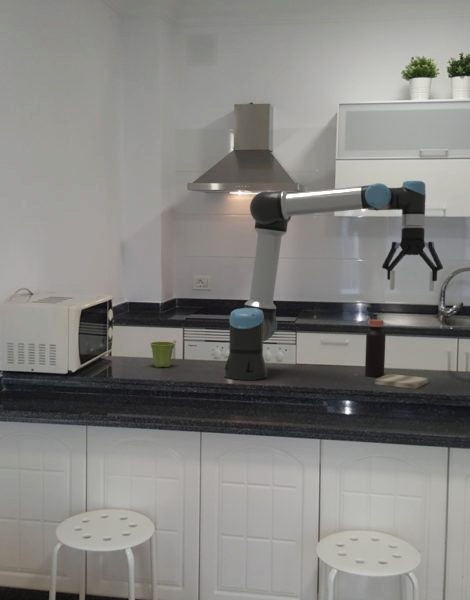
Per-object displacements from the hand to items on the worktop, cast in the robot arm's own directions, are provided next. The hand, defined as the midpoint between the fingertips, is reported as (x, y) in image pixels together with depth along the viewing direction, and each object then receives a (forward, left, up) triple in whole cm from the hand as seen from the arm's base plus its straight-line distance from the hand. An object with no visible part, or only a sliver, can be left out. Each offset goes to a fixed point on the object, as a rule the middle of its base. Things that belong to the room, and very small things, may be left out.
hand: (411, 290), depth 240 cm
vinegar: (-14, +5, -32) cm, 35 cm away
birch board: (-1, -4, -31) cm, 32 cm away
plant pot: (-86, -25, -32) cm, 95 cm away
